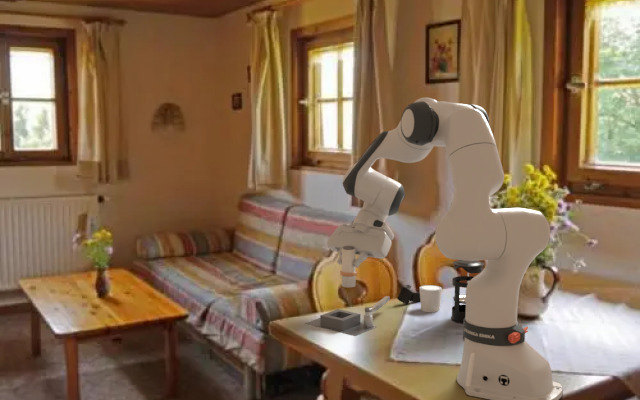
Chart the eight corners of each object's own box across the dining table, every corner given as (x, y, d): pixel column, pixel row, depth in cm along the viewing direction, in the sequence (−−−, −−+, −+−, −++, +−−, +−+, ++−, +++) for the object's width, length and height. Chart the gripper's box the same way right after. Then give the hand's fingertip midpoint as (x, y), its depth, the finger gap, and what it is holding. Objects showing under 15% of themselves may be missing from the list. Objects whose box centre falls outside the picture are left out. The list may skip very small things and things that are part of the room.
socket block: (377, 330, 188) (377, 315, 188) (355, 339, 180) (355, 324, 180) (326, 318, 200) (326, 304, 199) (304, 326, 192) (304, 312, 191)
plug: (360, 285, 199) (360, 246, 197) (350, 288, 195) (350, 249, 194) (347, 282, 202) (347, 244, 200) (337, 286, 198) (336, 247, 197)
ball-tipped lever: (370, 316, 186) (370, 309, 186) (363, 315, 187) (363, 308, 187) (390, 300, 203) (390, 293, 203) (384, 299, 204) (384, 293, 203)
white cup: (430, 314, 203) (430, 291, 202) (414, 309, 209) (414, 286, 208) (446, 310, 207) (446, 287, 206) (430, 305, 213) (430, 283, 212)
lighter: (412, 309, 218) (419, 293, 219) (417, 310, 216) (424, 294, 217) (395, 298, 213) (402, 282, 214) (400, 299, 211) (407, 283, 213)
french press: (466, 327, 190) (467, 246, 188) (442, 319, 198) (443, 241, 195) (494, 319, 197) (496, 242, 194) (470, 312, 205) (472, 237, 202)
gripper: (335, 217, 208) (315, 254, 202) (390, 224, 195) (371, 263, 189) (344, 229, 212) (324, 266, 206) (399, 237, 199) (380, 275, 193)
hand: (347, 264), depth 197 cm, fingers closed on plug, 4 cm apart
